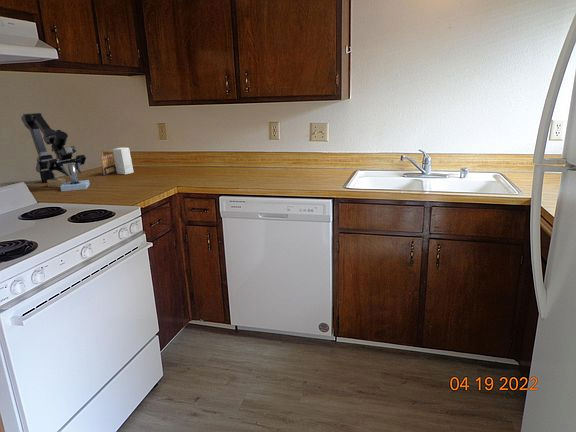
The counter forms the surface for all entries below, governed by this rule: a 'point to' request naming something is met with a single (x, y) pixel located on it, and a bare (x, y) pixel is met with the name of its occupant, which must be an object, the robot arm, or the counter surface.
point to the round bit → (73, 174)
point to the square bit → (55, 182)
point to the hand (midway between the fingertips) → (74, 174)
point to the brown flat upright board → (108, 165)
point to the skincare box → (123, 160)
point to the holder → (75, 186)
